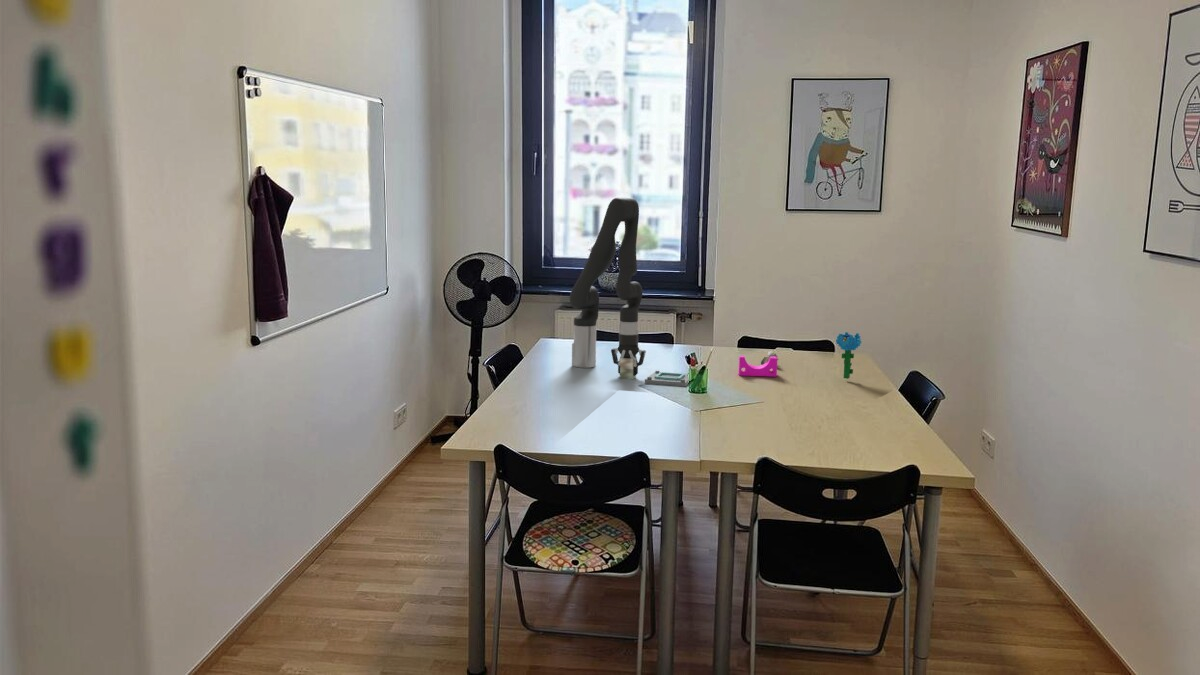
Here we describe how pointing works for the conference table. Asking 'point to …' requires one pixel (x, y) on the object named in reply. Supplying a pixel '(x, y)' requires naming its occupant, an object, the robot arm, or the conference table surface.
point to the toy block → (758, 368)
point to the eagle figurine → (768, 357)
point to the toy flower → (848, 350)
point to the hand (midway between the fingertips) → (627, 375)
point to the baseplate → (667, 379)
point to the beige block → (626, 368)
